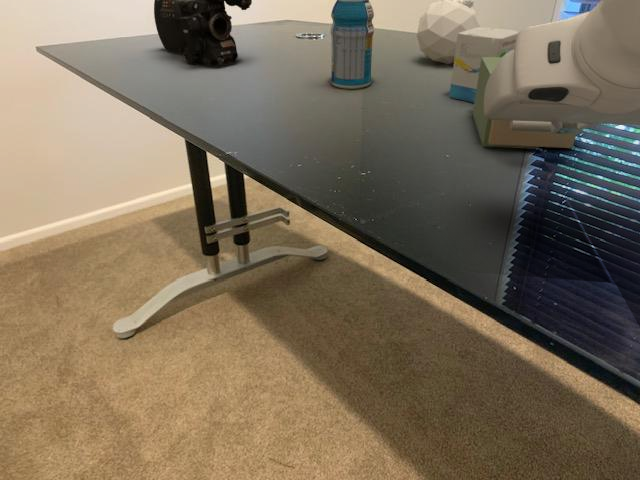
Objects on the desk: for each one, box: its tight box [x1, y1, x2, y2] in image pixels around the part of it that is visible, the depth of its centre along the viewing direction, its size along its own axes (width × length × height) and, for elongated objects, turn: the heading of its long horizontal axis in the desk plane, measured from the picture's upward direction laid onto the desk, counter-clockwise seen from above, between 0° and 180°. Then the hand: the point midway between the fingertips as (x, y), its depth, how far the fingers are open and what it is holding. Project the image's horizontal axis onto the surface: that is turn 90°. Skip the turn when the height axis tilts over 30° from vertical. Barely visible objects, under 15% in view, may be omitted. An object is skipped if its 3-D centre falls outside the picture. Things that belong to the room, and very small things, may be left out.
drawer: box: [488, 120, 577, 149], centre depth 74 cm, size 18×11×8 cm, turn 171°
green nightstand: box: [472, 57, 577, 150], centre depth 77 cm, size 15×13×10 cm
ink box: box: [448, 26, 520, 104], centre depth 92 cm, size 8×8×12 cm
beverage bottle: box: [330, 0, 375, 90], centre depth 98 cm, size 8×8×20 cm
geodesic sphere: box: [416, 0, 481, 65], centre depth 115 cm, size 15×14×14 cm
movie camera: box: [153, 0, 253, 67], centre depth 122 cm, size 31×18×18 cm, turn 43°
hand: (563, 128), depth 58 cm, fingers closed
